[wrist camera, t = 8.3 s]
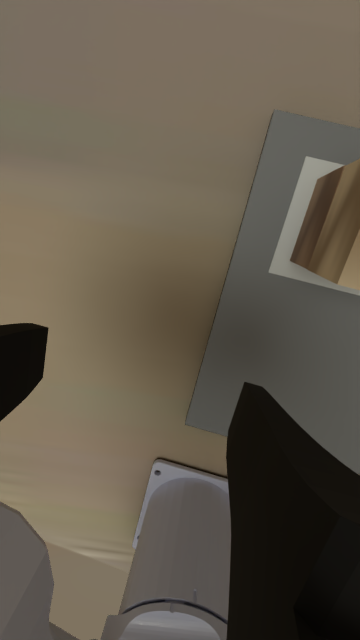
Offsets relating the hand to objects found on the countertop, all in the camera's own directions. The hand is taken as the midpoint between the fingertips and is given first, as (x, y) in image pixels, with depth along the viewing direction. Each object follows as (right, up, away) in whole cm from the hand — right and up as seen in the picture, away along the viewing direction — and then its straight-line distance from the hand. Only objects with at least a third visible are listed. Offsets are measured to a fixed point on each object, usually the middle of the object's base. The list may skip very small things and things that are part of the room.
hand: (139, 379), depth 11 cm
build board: (+11, +2, +9) cm, 15 cm away
